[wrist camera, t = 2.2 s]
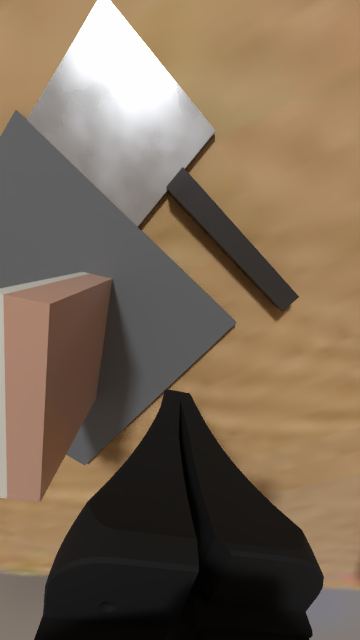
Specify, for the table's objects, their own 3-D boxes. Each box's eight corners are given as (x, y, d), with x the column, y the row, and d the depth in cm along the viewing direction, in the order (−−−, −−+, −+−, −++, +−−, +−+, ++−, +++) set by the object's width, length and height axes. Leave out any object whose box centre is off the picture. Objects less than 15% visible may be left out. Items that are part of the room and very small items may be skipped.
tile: (112, 278, 14) (49, 304, 7) (96, 398, 17) (39, 502, 10) (82, 271, 14) (-13, 291, 7) (71, 394, 17) (-4, 496, 10)
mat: (86, 460, 20) (84, 465, 19) (-111, 342, 16) (-120, 345, 15) (234, 320, 16) (236, 322, 15) (22, 115, 12) (15, 109, 11)
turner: (321, 265, 15) (332, 266, 14) (247, 332, 16) (252, 338, 15) (104, -1, 11) (96, -30, 9) (30, 123, 12) (16, 110, 11)
